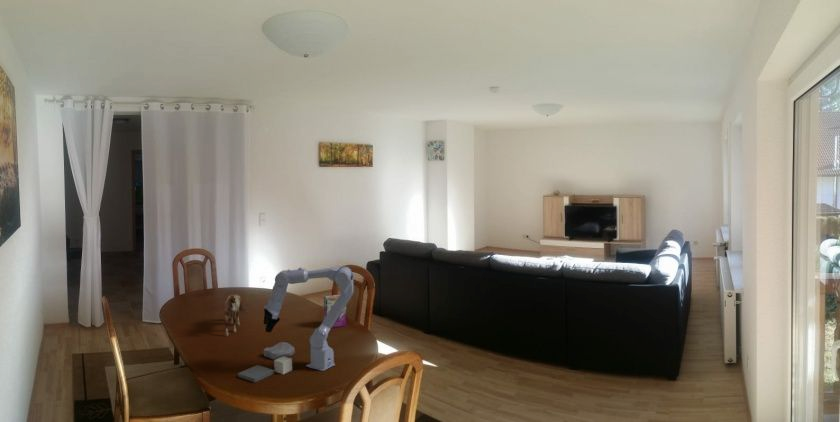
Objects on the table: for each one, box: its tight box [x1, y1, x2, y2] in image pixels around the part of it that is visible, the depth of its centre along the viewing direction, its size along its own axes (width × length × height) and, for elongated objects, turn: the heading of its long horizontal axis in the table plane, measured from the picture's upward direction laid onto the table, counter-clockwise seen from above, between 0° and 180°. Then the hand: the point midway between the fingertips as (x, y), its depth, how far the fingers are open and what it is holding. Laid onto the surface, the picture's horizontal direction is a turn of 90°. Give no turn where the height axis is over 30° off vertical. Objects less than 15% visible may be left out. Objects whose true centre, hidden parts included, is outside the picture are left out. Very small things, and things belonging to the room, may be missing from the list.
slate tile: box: [237, 364, 275, 383], centre depth 209 cm, size 10×10×2 cm
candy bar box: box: [323, 294, 347, 329], centre depth 271 cm, size 11×5×16 cm, turn 120°
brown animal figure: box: [223, 294, 247, 337], centre depth 266 cm, size 31×8×21 cm, turn 10°
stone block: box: [262, 341, 296, 360], centre depth 232 cm, size 12×5×10 cm
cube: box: [273, 356, 293, 375], centre depth 214 cm, size 5×5×5 cm
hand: (266, 328), depth 218 cm, fingers open, 7 cm apart
